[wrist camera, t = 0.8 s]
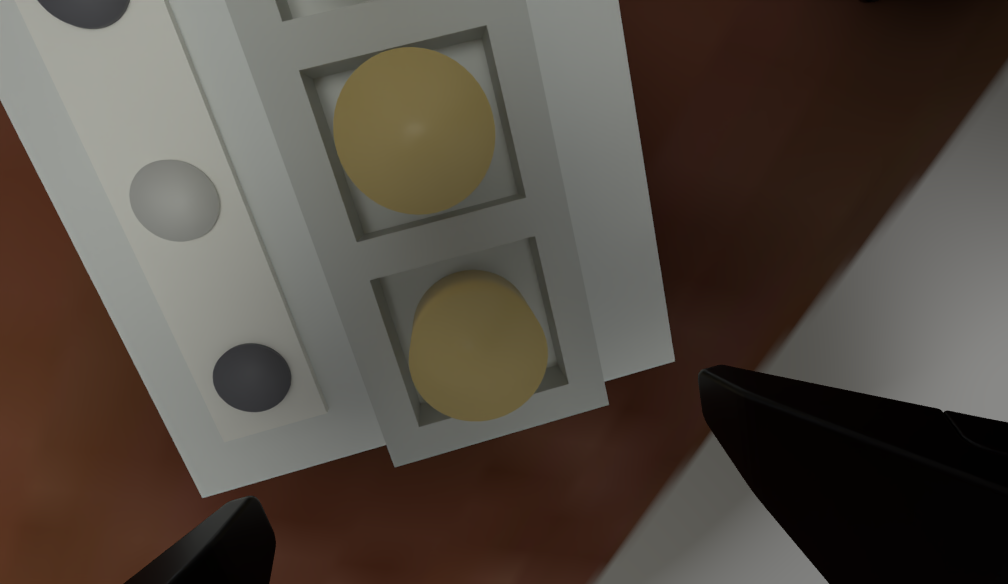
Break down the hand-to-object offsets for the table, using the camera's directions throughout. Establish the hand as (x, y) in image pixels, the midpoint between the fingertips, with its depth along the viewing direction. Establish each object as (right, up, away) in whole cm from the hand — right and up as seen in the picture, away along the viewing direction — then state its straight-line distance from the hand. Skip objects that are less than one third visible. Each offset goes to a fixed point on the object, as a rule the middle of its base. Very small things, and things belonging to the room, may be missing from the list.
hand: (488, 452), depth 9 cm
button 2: (-1, +2, +7) cm, 8 cm away
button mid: (-2, +7, +6) cm, 9 cm away
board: (-4, +7, +8) cm, 12 cm away
